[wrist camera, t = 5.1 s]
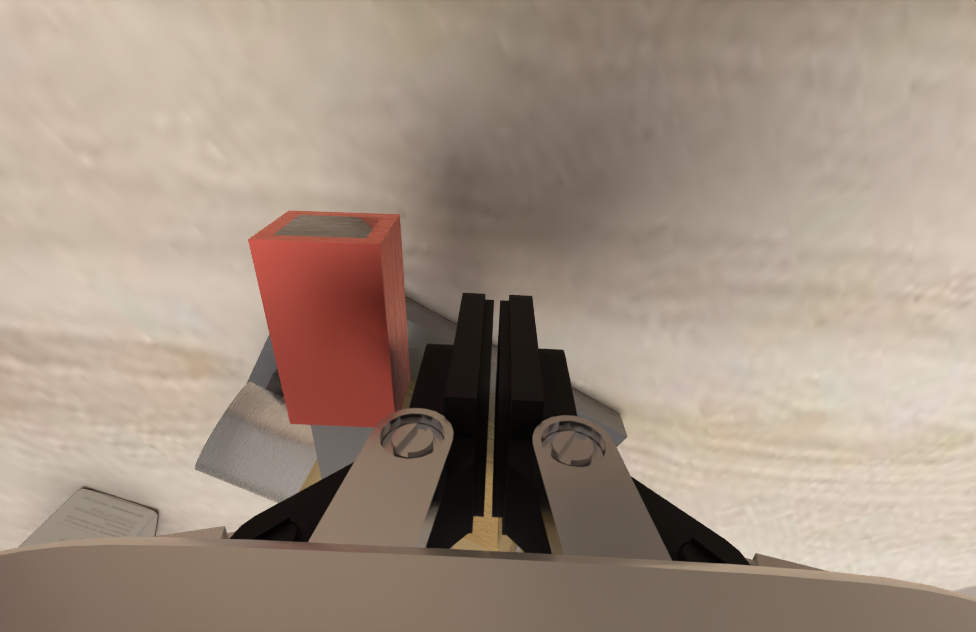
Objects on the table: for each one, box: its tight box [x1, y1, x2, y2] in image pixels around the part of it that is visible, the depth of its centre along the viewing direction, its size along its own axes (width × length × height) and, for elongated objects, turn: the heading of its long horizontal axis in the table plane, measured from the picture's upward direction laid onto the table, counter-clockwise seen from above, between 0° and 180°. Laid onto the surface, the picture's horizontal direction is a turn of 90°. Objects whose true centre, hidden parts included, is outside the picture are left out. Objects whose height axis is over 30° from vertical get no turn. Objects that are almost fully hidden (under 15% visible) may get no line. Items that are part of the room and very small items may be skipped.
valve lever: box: [248, 211, 410, 480], centre depth 12 cm, size 13×3×2 cm, turn 178°
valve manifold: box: [195, 297, 627, 552], centre depth 19 cm, size 10×15×8 cm, turn 58°
